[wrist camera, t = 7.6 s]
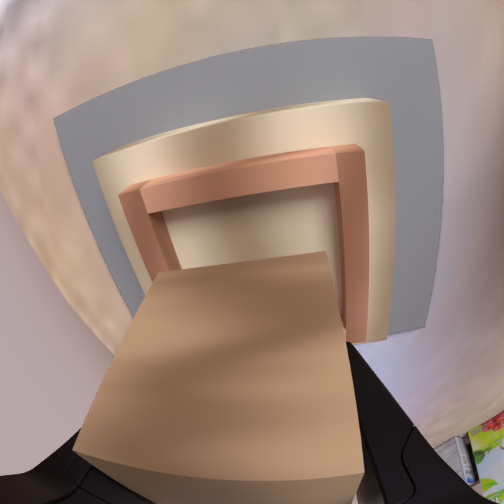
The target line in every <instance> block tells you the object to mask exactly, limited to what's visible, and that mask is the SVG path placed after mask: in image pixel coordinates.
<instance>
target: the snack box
mask: <svg viewBox="0 0 504 504" xmlns="http://www.w3.org/2000/svg"><path fill="white" fill-rule="evenodd" d="M468 436H469V440H470V444H471V447H472V451H473V455H474V459H475V463H476V467H477V471H478V475H479V480H480V484H481V489H482V494H483V497H485V498H487V499H489V500H491V501H494V502H496V503H499V504H504V411H503V412H501V413H500V414H498V415H496V416H495V417H493V418H491V419H490V420H488V421H486V422H485V423H483V424H481V425H479V426H478V427H476V428H474V429H472V430H470V431H469V432H468Z"/></svg>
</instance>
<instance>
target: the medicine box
mask: <svg viewBox="0 0 504 504" xmlns="http://www.w3.org/2000/svg"><path fill="white" fill-rule="evenodd" d="M434 450H435V451H436V452H437V453H438V454H439V456H440V457H441V458H442V459H443V460H444V461H445V462H446V463H447V464H448V465H449V466H450V467H451V468H452V469H453V470H454V471H455V472H456V473H457V474H458V475H459V476H460V477H461V478H462V479H463V480H464V481H465V482H466V483H467V484H468V485H471V484H473V483H474V482H475V478H474V473H473V469H472V465H471V461H470V458H469V454H468V450H467V446H466V443H465V440H464V439H462V438H459V437H454V438H452V439H450V440H449V441H447V442H445V443H443V444H442V445H440V446H438V447H436V448H434Z"/></svg>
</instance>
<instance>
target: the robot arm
mask: <svg viewBox="0 0 504 504" xmlns="http://www.w3.org/2000/svg"><path fill="white" fill-rule="evenodd" d="M346 346H347V352H348V357H349V363H350V369H351V375H352V381H353V387H354V393H355V400H356V406H357V413H358V421H359V428H360V436H361V444H362V453H363V462H364V472H365V473H364V475H363V477H362V480H361V482H360V485H359V487H358V489H357V492H356V494H357V500H358V504H499V503H496V502H494V501H491V500H489V499H487V498H485V497H483V496H482V495H480V494H479V493H477V492H476V491H475V490H473V489H472V488H471V487H470V486H469V485H468V484H467V483H466V482H465V481H464V480H463V479H462V478H461V477H460V476H459V475H458V474H457V473H456V472H455V471H454V470H453V469H452V468H451V467H450V466H449V465H448V464H447V463H446V462H445V461H444V460H443V459H442V458H441V457H440V456H439V454H438V453H437V452H436V451H435V450H434V449H433V448H432V447H431V445H430V444H429V443H428V442H427V440H426V439H425V438H424V437H423V436H422V434H421V433H420V431H419V430H418V429H417V427H416V426H414V424H413V422H412V421H411V420H410V418H409V417H408V416H407V414H406V413H405V412H404V410H403V409H402V408H401V407H400V405H399V404H398V403H397V401H396V400H395V399H394V397H393V396H392V395H391V393H390V392H389V391H388V390H387V388H386V387H385V386H384V384H383V383H382V382H381V380H380V379H379V378H378V377H377V375H376V374H375V373H374V371H373V370H372V369H371V368H370V366H369V365H368V364H367V362H366V361H365V360H364V359H363V357H362V356H361V355H360V353H359V352H358V351H357V350H356V348H355V347H354V346H353V344H352V343H351V342H349V341H347V342H346ZM413 426H414V427H413ZM81 428H82V427H81ZM81 428H80V429H79V430H78V432H76V433H75V434H74V435H73V436H72V437H71V438H70V439H69V440H68V441H67V442H66V443H64V444H63V445H62V446H61V447H60V448H59V449H57V450H56V451H55V452H54V453H52V454H51V455H50V456H49V457H47V458H46V459H45V460H44V461H42V462H41V463H40V464H38V465H37V466H36V467H35V468H33V469H31V470H30V471H27V472H25V473H21V474H14V475H4V476H0V504H156V503H154V502H152V501H150V500H148V499H146V498H145V497H143V496H141V495H139V494H137V493H136V492H134V491H132V490H130V489H129V488H127V487H125V486H124V485H122V484H121V483H119V482H117V481H116V480H114V479H113V478H111V477H109V476H108V475H106V474H105V473H103V472H102V471H100V470H99V469H98V468H96V467H95V466H93V465H92V464H90V463H89V462H88V461H86V460H85V459H83V458H82V457H81V456H79V455H78V454H77V453H75V452H74V451H73V447H74V445H75V442H76V440H77V437H78V435H79V432H80V430H81Z"/></svg>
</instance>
